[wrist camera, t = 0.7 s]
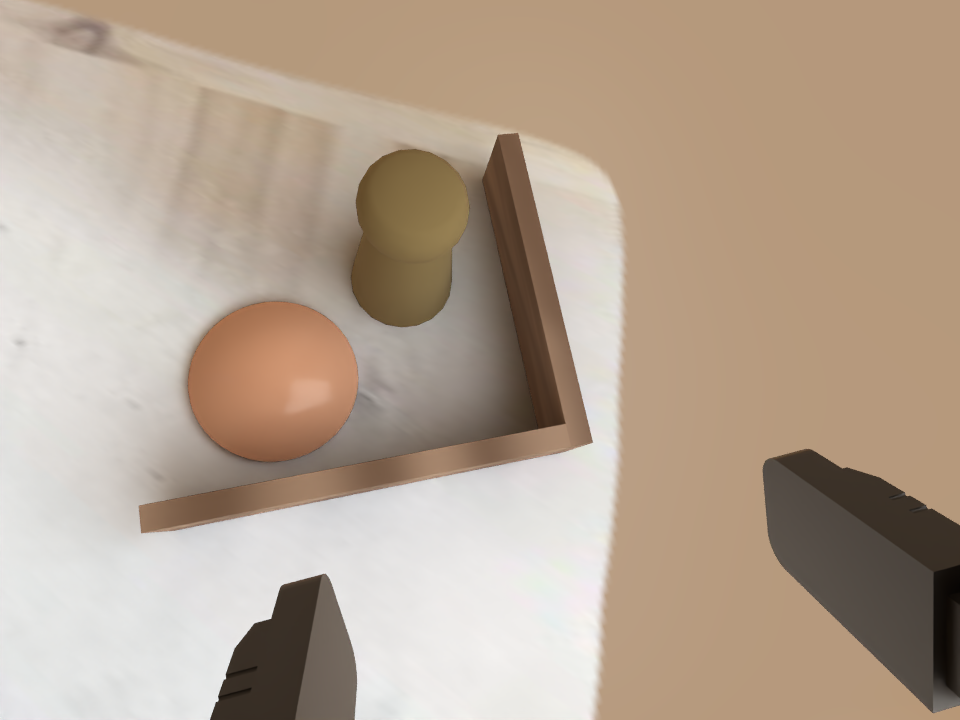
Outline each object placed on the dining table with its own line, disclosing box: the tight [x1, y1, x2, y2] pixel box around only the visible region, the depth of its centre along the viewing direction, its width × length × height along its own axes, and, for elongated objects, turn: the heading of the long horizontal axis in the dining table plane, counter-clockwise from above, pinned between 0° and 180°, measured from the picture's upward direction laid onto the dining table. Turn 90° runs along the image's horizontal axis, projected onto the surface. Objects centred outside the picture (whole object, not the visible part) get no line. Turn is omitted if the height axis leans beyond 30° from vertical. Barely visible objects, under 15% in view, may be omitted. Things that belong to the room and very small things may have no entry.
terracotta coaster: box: [188, 302, 358, 462], centre depth 35 cm, size 9×9×1 cm
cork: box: [351, 149, 470, 327], centre depth 32 cm, size 6×6×11 cm
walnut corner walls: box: [139, 133, 593, 533], centre depth 34 cm, size 22×18×5 cm
